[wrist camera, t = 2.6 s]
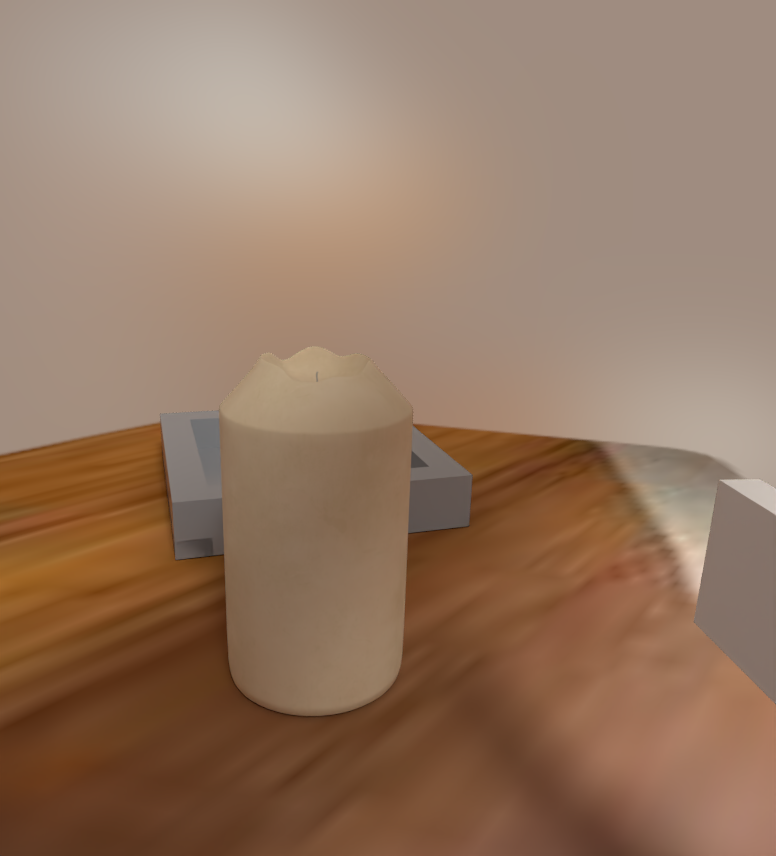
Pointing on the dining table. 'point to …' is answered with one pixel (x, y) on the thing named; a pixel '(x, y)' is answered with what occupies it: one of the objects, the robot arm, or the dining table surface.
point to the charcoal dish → (202, 489)
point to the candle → (315, 531)
